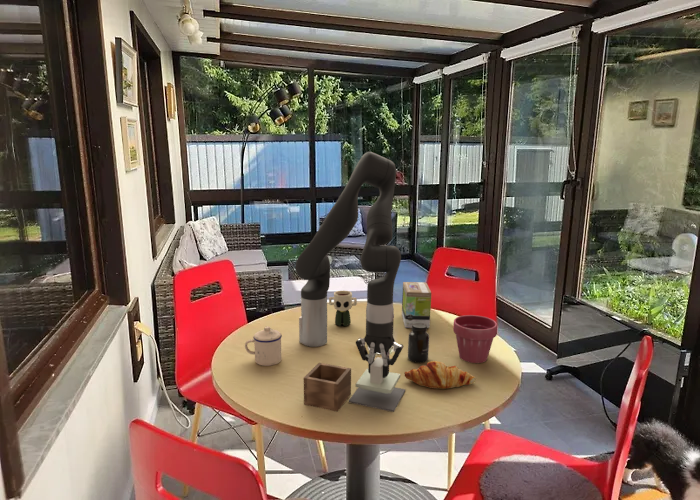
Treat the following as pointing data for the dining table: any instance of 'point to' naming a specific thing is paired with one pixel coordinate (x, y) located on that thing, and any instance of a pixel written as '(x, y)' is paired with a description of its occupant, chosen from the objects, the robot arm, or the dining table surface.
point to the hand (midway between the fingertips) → (378, 375)
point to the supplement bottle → (418, 343)
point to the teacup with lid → (266, 346)
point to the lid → (378, 378)
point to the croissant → (439, 376)
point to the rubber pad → (378, 398)
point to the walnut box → (327, 386)
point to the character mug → (342, 306)
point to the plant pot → (474, 337)
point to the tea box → (416, 303)
